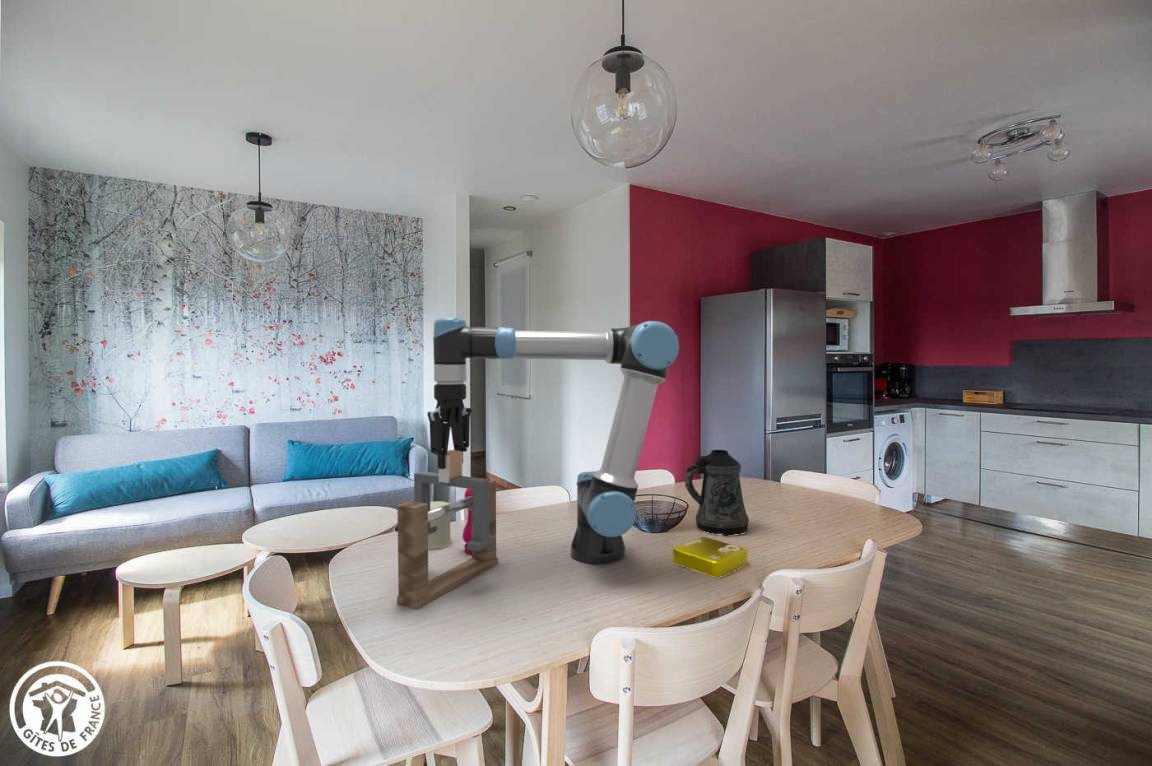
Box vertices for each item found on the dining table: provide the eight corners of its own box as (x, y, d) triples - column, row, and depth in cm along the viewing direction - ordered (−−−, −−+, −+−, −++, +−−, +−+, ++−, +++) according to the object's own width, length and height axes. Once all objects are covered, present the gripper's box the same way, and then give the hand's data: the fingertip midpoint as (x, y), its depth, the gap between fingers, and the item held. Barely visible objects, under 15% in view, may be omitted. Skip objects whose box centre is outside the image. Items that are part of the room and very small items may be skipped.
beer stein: (759, 530, 172) (760, 452, 171) (718, 542, 161) (719, 458, 160) (718, 518, 186) (719, 445, 185) (678, 527, 175) (678, 450, 174)
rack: (497, 563, 144) (497, 480, 143) (417, 609, 117) (416, 508, 117) (479, 559, 147) (478, 478, 146) (396, 603, 120) (395, 505, 119)
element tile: (702, 550, 155) (702, 534, 155) (750, 565, 144) (750, 547, 144) (669, 563, 145) (669, 545, 145) (718, 580, 134) (718, 561, 134)
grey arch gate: (495, 542, 130) (495, 452, 129) (477, 551, 124) (477, 457, 123) (427, 529, 140) (426, 446, 139) (407, 537, 133) (407, 450, 132)
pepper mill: (483, 556, 149) (482, 484, 149) (458, 554, 151) (457, 482, 150) (492, 547, 156) (492, 478, 156) (468, 545, 158) (468, 477, 157)
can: (421, 539, 163) (421, 500, 163) (453, 538, 164) (452, 499, 164) (415, 550, 154) (415, 508, 154) (448, 549, 155) (448, 507, 154)
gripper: (460, 381, 140) (461, 472, 140) (412, 384, 124) (413, 485, 125) (484, 382, 136) (484, 474, 137) (438, 384, 121) (439, 489, 122)
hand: (450, 479), depth 131 cm, fingers closed on grey arch gate, 4 cm apart
